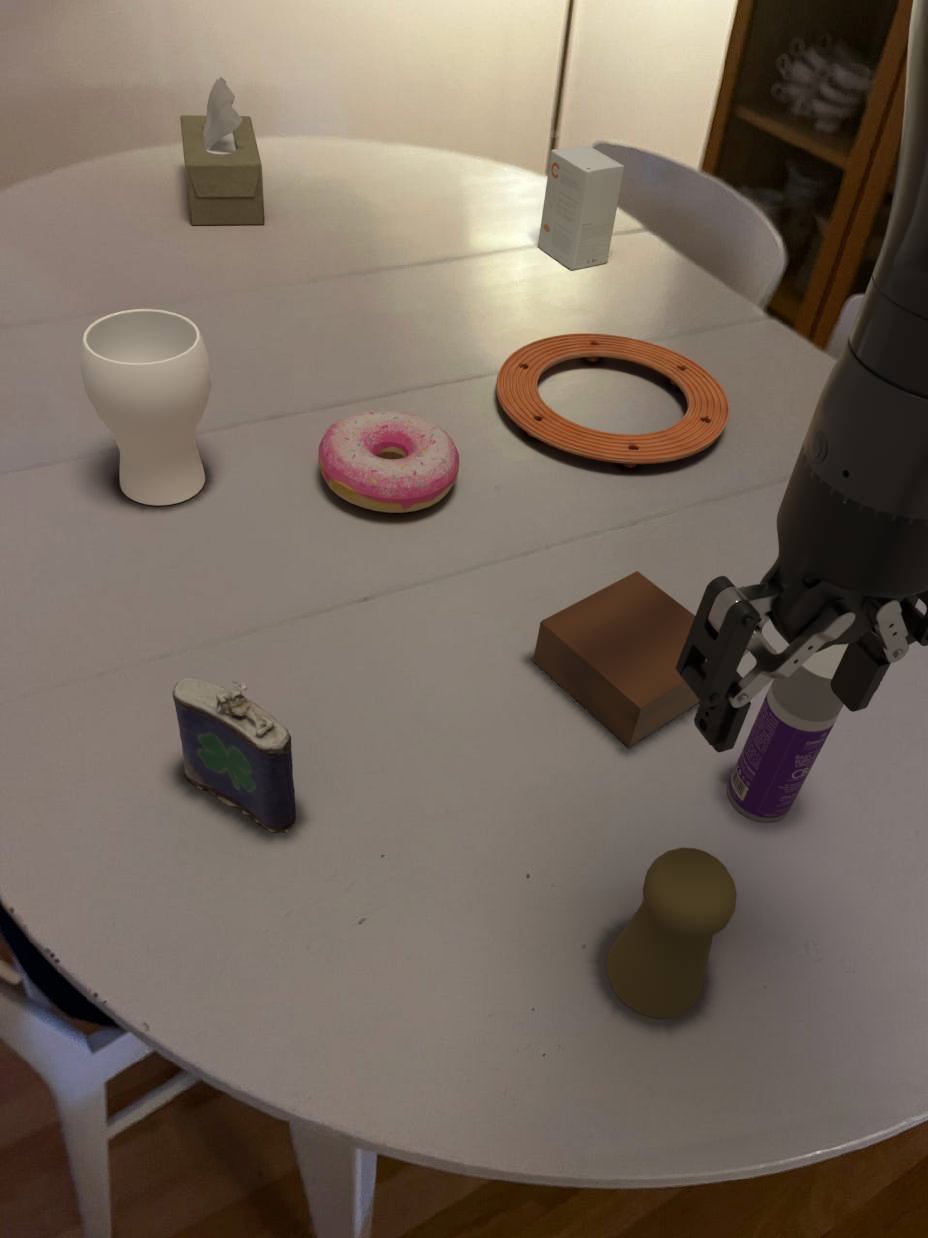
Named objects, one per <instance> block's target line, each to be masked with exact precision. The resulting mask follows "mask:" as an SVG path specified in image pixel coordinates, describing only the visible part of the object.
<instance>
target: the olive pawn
mask: <svg viewBox="0 0 928 1238" xmlns="http://www.w3.org/2000/svg"><path fill="white" fill-rule="evenodd" d="M642 896H643V901H642V903H641V904H640V906H639V907H638V908H637V910H636V911H635V913H634V914H633V915H632V917H631V918H630V920H629V921H628V923H627V924H626V925H625V927H624V928H623V929H622V930H621V933H620V934H619V936H618V937H617V938H616V940H615V941H614V943H613V944H612V946H611V947H610V948H609V951H608V955H607V959H606V972H607V978H608V980H609V982H610V985H611V987H612V989H613V992H614V993H615V994H616V995H617V996H618V998H619V999H620V1000H621V1001H622V1002H623V1003H624V1004H625V1005H626V1006H628V1007H629V1008H631V1009H632V1010H633V1011H635V1012H636V1013H638V1014H641V1015H643V1016H646V1017H650V1018H652V1019H671V1018H675V1017H679V1016H682V1015H684V1014H685V1013H686V1012H688V1011H689V1010H690V1009H691V1008H693V1007H694V1006H695V1004H696V1002H697V1001H698V999H699V997H700V996H701V991H702V988H703V983H704V979H705V974H706V970H707V966H708V961H709V957H710V954H711V950H712V949H711V948H712V944H713V941H714V937H715V935H717V934H718V933H720V932H721V931H723V930H724V929H725V928H727V926H728V924H729V922H730V921H731V919H732V918H733V915H734V914H735V912H736V906H737V898H738V897H737V896H738V892H737V888H736V884H735V881H734V879H733V877H732V875H731V874H730V872H729V870H728V869H727V866H725V865H724V864H723V862H721V861H720V860H719V859H718V857H715V856H714V855H712V854H711V853H709V852H707V851H704V850H701V849H699V848H695V847H678V848H674V849H671V850H667V851H665V852H664V853H662V854H660V855H659V856H657V858H655V860H654V861H652V863H651V865H650V866H649V868H648V869H647V870H646V873H645V876H644V880H643V885H642Z"/></svg>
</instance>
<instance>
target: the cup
mask: <svg viewBox="0 0 928 1238" xmlns="http://www.w3.org/2000/svg"><path fill="white" fill-rule="evenodd" d="M82 336H83V337H82V344H81V346H82V347H81V358H80V359H81V360H80V372H81V377H82V381H83V388H84V390H85V393H86V395H87V398H88V400H89V401H90V403H91V405H92V407H93V409H94V410H95V412H96V414H97V416H98V417H99V419H100V420H101V421H102V422H103V423H104V425H105V426H106V427H107V428H108V429H109V430H110V431H111V433H112V434H113V435H114V440H115V443H116V445H117V448H118V450H119V473H118V475H119V488H120V489H121V492H122V493H123V494H124V495H125V496H126V497H127V498H129V499H130V500H133V501H134V502H137V503H140V504H143V505H148V506H170V505H175V504H179V503H182V502H184V501H188V500H189V499H192V497H194V496H196V495H197V494H198V493H199V492H200V491H201V490H202V489H203V487H204V485H205V482H206V473H205V470H204V466H203V462H202V460H201V456H200V453H199V450H198V447H197V432H198V429H197V428H198V425H199V423H200V421H201V420H202V417H203V415H204V413H205V411H206V408H207V406H208V401H209V397H210V393H211V389H212V376H211V363H210V356H209V353H208V351H207V348H206V345H205V342H204V340H203V336H202V334H201V331H200V329H199V328H198V326H197V324H196V323H194V322H193V321H192V320H191V319H189V318H187V317H185V316H183V315H181V314H179V313H175V312H171V311H168V310H162V309H154V308H135V309H129V310H122V311H118V312H114V313H110V314H107V315H105V316H102V317H100V318H98V319H96V320H95V321H94V322H93V323H91V324H90V325H89V326H88V327H87V329H86V330H85V331H84V333H83V335H82Z"/></svg>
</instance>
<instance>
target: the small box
mask: <svg viewBox="0 0 928 1238" xmlns="http://www.w3.org/2000/svg"><path fill="white" fill-rule="evenodd" d="M624 171H625V165H623V164H622V163H620V162H619V161H616V160H615V159H614V158H613V159H612V158H611V157H610V156H608V155H606V154H604V153H603V152H601V151H599V150H597V149H595V148H594V147H592V146H591V145H588V144H587V145H579V146H570V147H562V148H555V149H551V150H550V157H549V165H548V171H547V177H546V185H545V192H544V200H543V205H542V206H543V207H542V213H541V222H540V228H539V234H538V240H537V241H538V242H537V247H538V248H539V249H540V250H542V251H543V252H545V254H548V255H549V256H551V257H552V258H553V259H555V260H556V261H558V262H559V263H560V264H561V265H563V266H564V267H566V268H567V269H569V270H570V271H573V270H579V269H584V268H589V267H594V266H598V265H603V264H606V263H608V259H609V254H610V248H611V242H612V237H613V232H614V226H615V222H616V214H617V209H618V206H619V205H618V204H619V198H620V195H621V188H622V182H623V177H624Z"/></svg>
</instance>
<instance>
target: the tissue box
mask: <svg viewBox="0 0 928 1238" xmlns="http://www.w3.org/2000/svg"><path fill="white" fill-rule="evenodd" d="M235 99H236V96H235V95H234V93H233V91H232V90H231V88H230V87H229V85H227V81H226V80H225V78H223V77H222V76H219V78H216V79H215V82H214V84H213V85H212V88H211V89H210V92H209V95H208V100H207V103H206V104H207V105H206V115H190V114H189V115H186V114H185V115H182V114H181V115H180V117H179V118H180V119H179V120H180V127H181V128H180V130H181V141H182V151H183V162H184V163H183V164H184V171H185V172H184V173H185V182H186V193H187V202H188V211H189V212H188V214H189V221H190V225H191V226H263V225H265V222H266V221H265V204H264V203H265V201H264V185H263V183H264V181H263V165H262V162H261V161H262V159H261V156H260V152H259V151H260V150H259V148H258V143H257V139H256V134H255V130H254V127H253V121H252V117H250V116H249V115H245V116H244V115H240V114H239V113H238V112H237V110H236V109H235V108H234V107H233V105H234V103H235V102H234V101H235Z"/></svg>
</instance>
